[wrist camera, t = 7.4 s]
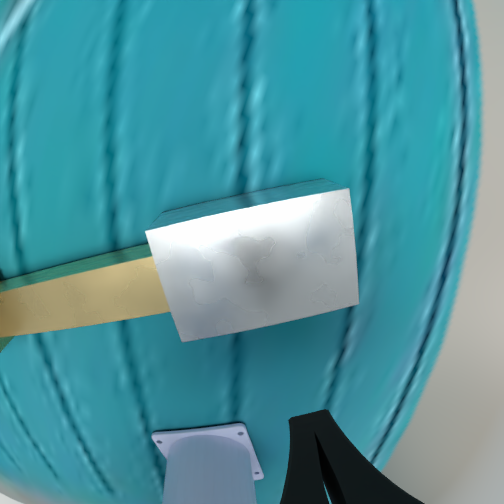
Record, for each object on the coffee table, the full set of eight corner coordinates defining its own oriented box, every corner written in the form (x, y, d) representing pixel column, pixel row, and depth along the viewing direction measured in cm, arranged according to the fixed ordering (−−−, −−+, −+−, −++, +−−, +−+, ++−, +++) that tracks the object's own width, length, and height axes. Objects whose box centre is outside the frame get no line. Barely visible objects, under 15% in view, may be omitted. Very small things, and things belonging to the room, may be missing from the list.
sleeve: (334, 273, 19) (359, 303, 15) (189, 304, 19) (182, 342, 15) (322, 178, 17) (349, 188, 13) (162, 212, 17) (145, 231, 13)
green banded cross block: (190, 299, 18) (175, 370, 12) (-25, 334, 18) (-65, 377, 12) (168, 223, 17) (137, 268, 11) (-47, 285, 16) (-94, 321, 10)
